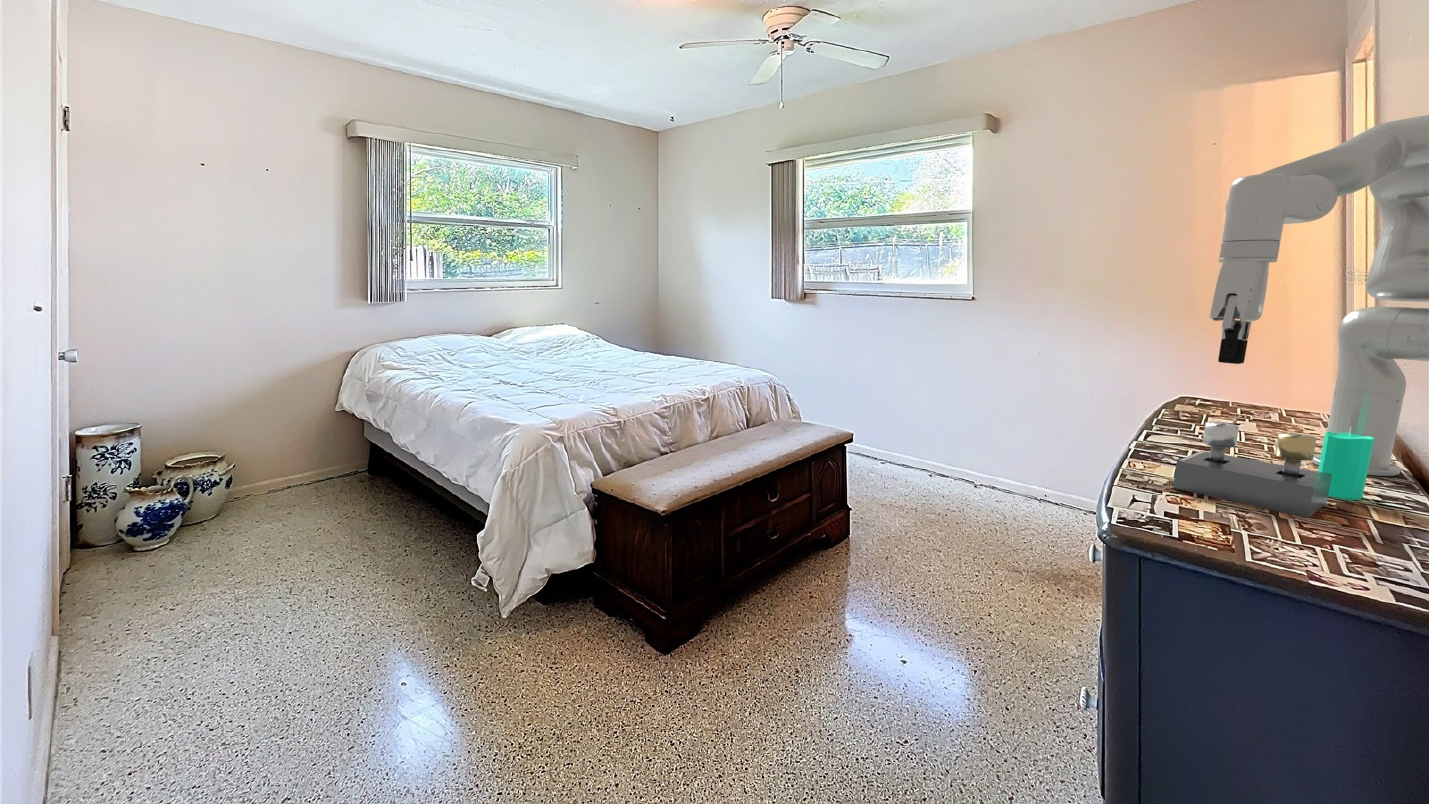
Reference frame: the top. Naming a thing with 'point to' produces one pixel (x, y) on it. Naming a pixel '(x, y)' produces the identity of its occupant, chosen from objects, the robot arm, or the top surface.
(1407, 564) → the top surface
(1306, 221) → the robot arm
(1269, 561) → the top surface
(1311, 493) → the mount
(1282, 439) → the knob
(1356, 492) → the candle
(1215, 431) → the knob
